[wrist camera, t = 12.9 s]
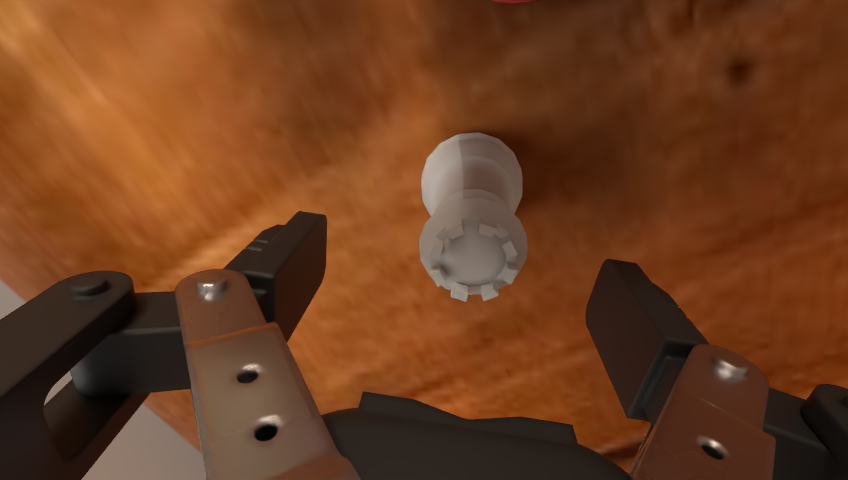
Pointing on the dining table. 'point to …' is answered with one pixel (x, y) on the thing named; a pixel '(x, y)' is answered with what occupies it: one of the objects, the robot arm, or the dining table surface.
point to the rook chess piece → (472, 216)
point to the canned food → (513, 1)
